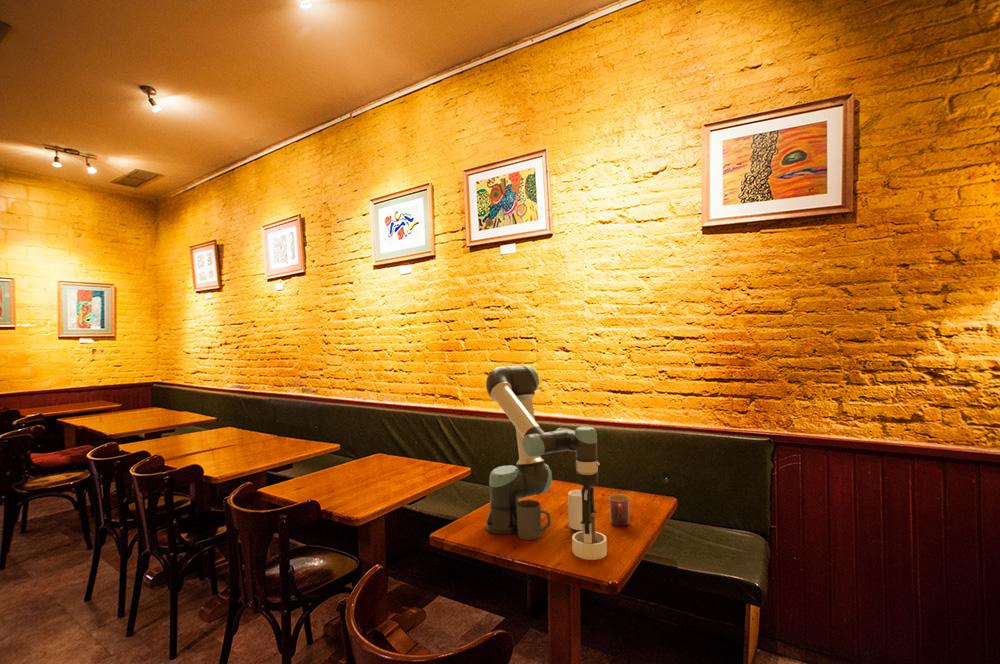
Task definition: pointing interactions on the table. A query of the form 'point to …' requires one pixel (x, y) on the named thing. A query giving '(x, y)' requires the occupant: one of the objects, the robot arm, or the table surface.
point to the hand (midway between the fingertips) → (589, 537)
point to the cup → (575, 509)
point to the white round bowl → (589, 546)
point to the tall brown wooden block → (593, 528)
